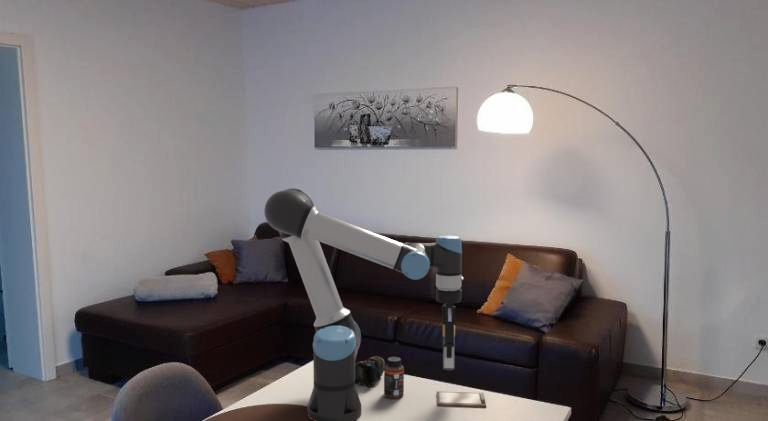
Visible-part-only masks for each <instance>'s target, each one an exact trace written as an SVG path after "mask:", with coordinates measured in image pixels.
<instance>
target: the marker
mask: <svg viewBox="0 0 768 421" xmlns="http://www.w3.org/2000/svg"><path fill="white" fill-rule="evenodd" d="M455 336H456V325H455V324H454V356H455V352H456V351H455V349H456V348H455V346H456V344H455V343H456V340H455V339H456V338H455ZM442 344H445V325H444V324H442ZM442 369H443V370H444V371H453V370H455V367H454V368H444V347H442Z"/></svg>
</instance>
